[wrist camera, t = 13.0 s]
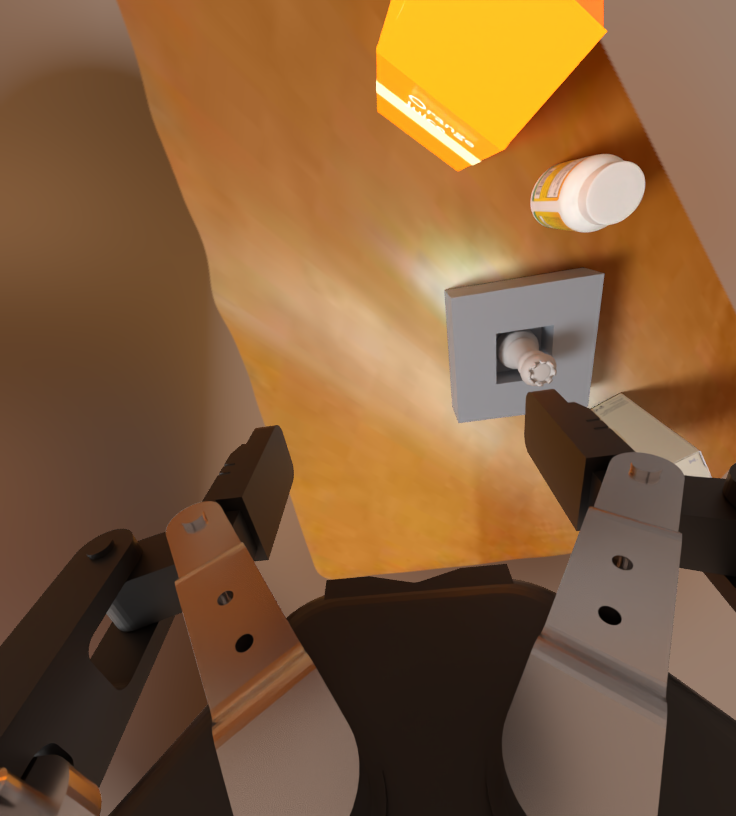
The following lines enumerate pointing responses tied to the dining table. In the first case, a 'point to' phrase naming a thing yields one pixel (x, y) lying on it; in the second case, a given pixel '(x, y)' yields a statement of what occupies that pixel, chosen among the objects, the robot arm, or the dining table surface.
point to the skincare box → (650, 435)
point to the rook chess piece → (525, 357)
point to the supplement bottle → (587, 193)
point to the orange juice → (477, 68)
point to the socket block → (511, 311)
